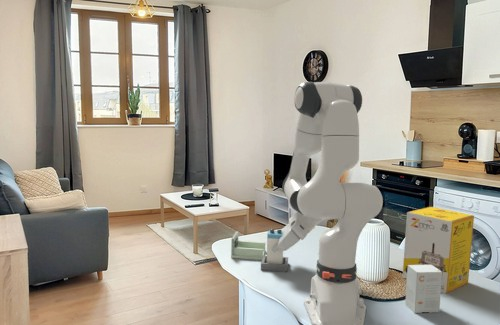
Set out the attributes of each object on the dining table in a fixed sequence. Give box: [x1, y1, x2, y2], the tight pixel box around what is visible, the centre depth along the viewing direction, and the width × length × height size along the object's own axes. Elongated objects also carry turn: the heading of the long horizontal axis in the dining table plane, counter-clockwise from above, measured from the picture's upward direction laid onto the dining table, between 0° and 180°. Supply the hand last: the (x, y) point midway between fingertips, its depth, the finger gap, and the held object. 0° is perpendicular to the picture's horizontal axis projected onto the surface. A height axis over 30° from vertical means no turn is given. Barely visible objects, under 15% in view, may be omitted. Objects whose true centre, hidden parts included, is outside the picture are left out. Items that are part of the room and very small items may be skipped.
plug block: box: [266, 228, 284, 264], centre depth 158 cm, size 5×6×15 cm
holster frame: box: [260, 255, 289, 273], centre depth 158 cm, size 9×10×2 cm
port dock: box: [230, 230, 266, 261], centre depth 171 cm, size 12×13×8 cm
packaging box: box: [402, 206, 475, 294], centre depth 147 cm, size 16×16×25 cm
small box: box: [404, 265, 442, 314], centre depth 126 cm, size 8×6×13 cm
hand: (273, 248), depth 158 cm, fingers open, 5 cm apart
